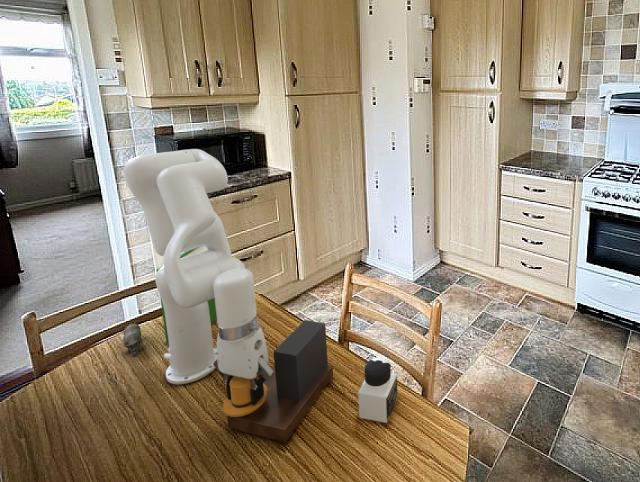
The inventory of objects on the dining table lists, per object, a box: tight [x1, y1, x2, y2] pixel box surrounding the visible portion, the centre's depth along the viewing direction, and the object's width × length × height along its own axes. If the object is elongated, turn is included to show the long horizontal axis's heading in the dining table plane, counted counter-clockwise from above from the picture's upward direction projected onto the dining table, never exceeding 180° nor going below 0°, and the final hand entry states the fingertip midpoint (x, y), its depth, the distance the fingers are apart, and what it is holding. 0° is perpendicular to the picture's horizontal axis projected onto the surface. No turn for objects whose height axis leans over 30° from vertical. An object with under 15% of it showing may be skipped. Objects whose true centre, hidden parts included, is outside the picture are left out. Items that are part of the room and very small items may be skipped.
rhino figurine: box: [122, 323, 143, 358], centre depth 108 cm, size 4×14×6 cm, turn 42°
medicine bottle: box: [357, 356, 399, 424], centre depth 89 cm, size 7×7×12 cm
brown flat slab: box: [226, 364, 334, 444], centre depth 91 cm, size 15×19×4 cm
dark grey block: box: [273, 319, 329, 401], centre depth 92 cm, size 6×12×12 cm, turn 166°
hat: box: [222, 375, 268, 417], centre depth 85 cm, size 9×9×6 cm
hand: (245, 396), depth 85 cm, fingers closed on hat, 5 cm apart
